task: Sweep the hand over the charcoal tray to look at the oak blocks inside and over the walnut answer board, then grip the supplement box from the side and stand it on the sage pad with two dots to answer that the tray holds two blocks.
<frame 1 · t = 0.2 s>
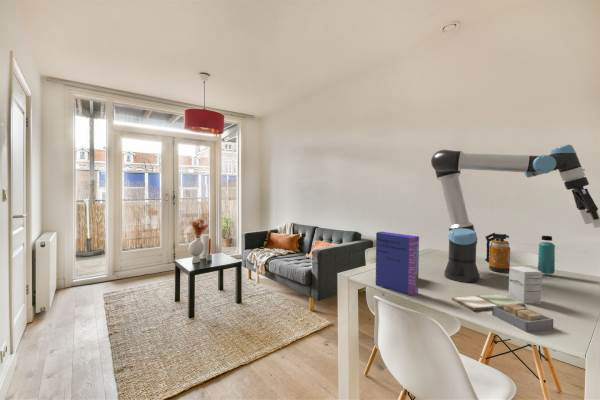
hand: (593, 225, 124), 28 cm above the table, tool tilted 20°, fingers open, 13 cm apart
answer board: (487, 304, 108), on the table
supplement box: (524, 301, 112), on the table
grey tray: (521, 323, 93), on the table
coffee box: (399, 278, 140), on the table
oak block b: (528, 325, 91), resting on grey tray
cereal box: (396, 289, 125), on the table
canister: (496, 270, 153), on the table
oak block a: (513, 318, 95), resting on grey tray
beverage bottle: (545, 275, 145), on the table
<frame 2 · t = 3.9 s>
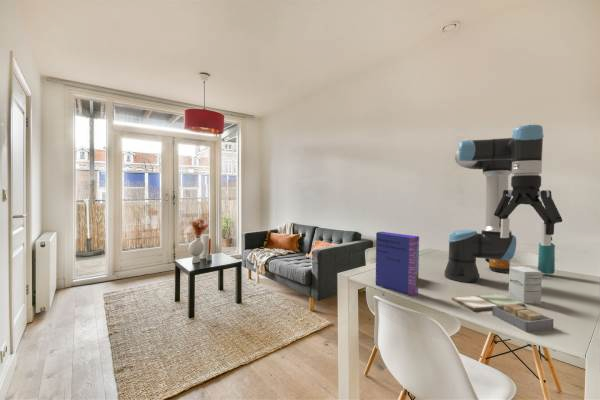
hand: (523, 241, 92), 27 cm above the table, tool pointing down, fingers open, 13 cm apart
nothing on the table moved.
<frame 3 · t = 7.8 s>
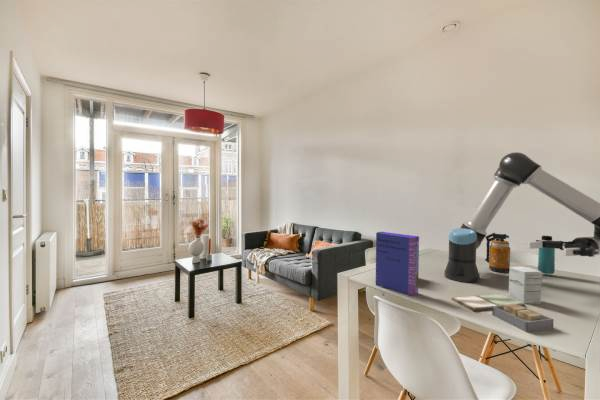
hand: (545, 248, 113), 20 cm above the table, tool horizontal, fingers open, 13 cm apart
nothing on the table moved.
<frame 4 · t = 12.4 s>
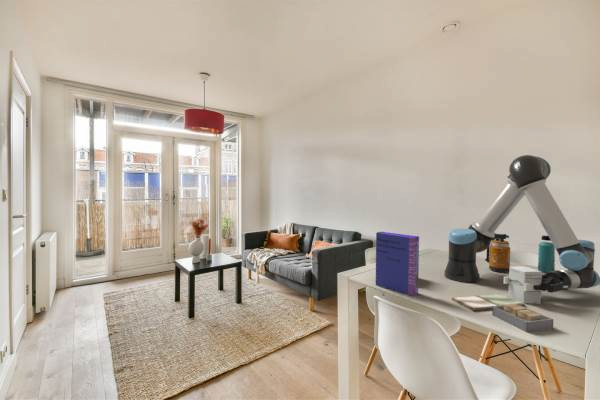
hand: (514, 283, 110), 7 cm above the table, tool horizontal, fingers closed on supplement box, 8 cm apart
supplement box: (524, 301, 112), on the table, touching gripper
everything else where it was.
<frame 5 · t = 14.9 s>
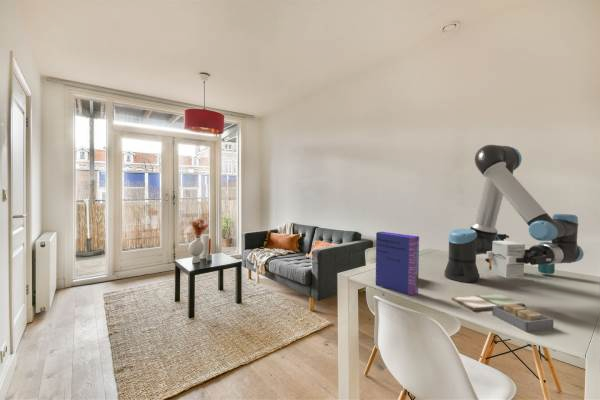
hand: (497, 257, 107), 18 cm above the table, tool horizontal, fingers closed on supplement box, 8 cm apart
supplement box: (506, 275, 109), point 11 cm above the table, touching gripper
everything else where it was.
when the fingers open (10 cm above the table, at t = 17.5 s): supplement box drops 1 cm, resting on answer board.
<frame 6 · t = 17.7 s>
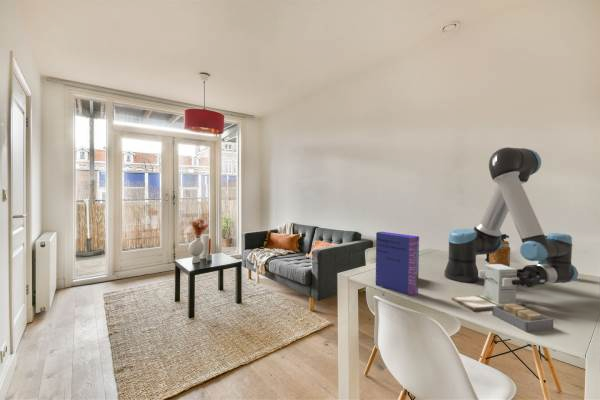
hand: (490, 277, 108), 10 cm above the table, tool horizontal, fingers open, 10 cm apart
supplement box: (499, 299, 109), point 1 cm above the table, touching answer board
everything else where it was.
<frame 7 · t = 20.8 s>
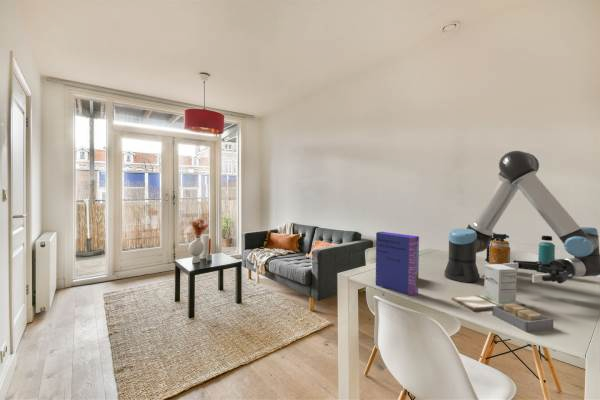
hand: (517, 272, 112), 11 cm above the table, tool horizontal, fingers open, 13 cm apart
nothing on the table moved.
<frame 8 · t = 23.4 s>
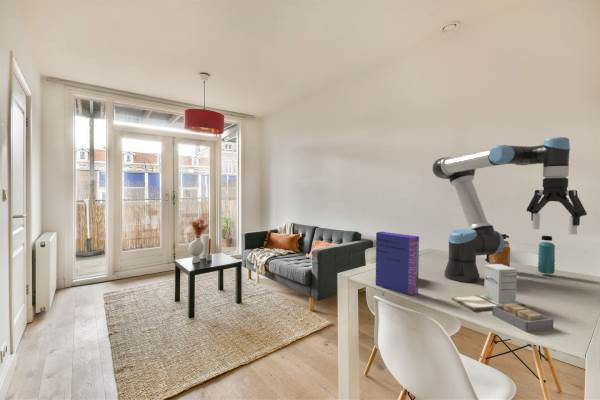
hand: (553, 231, 113), 27 cm above the table, tool pointing down, fingers open, 13 cm apart
nothing on the table moved.
at the end: supplement box 0.0 cm from the target spot on the answer board, point 1.3 cm above the answer board's base; supplement box tilted 0°; the gripper is holding nothing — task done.
